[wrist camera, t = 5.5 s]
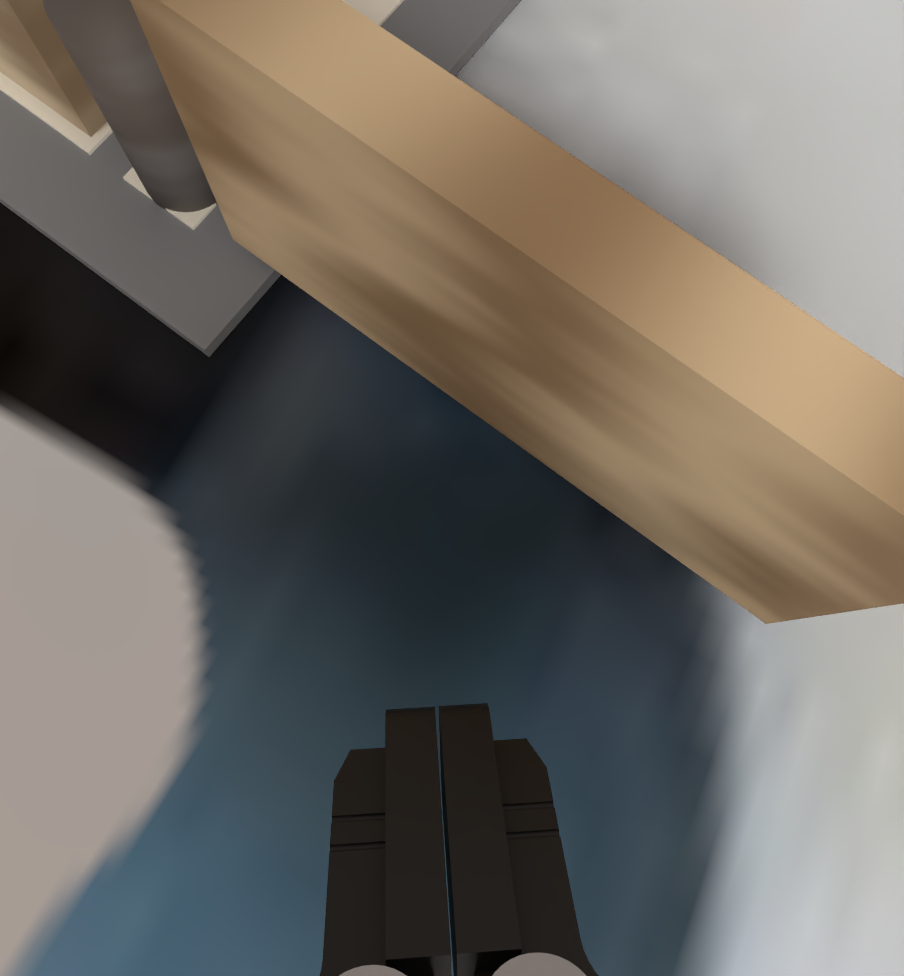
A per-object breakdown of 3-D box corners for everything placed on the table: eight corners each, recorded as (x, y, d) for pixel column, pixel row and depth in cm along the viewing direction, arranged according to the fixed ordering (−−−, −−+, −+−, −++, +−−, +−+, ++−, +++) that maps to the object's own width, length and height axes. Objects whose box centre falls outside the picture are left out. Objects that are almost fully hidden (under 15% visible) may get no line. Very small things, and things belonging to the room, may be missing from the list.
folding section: (232, 239, 18) (117, -29, 11) (277, 189, 18) (192, -101, 11) (766, 623, 17) (1007, 587, 10) (804, 563, 17) (1066, 487, 10)
